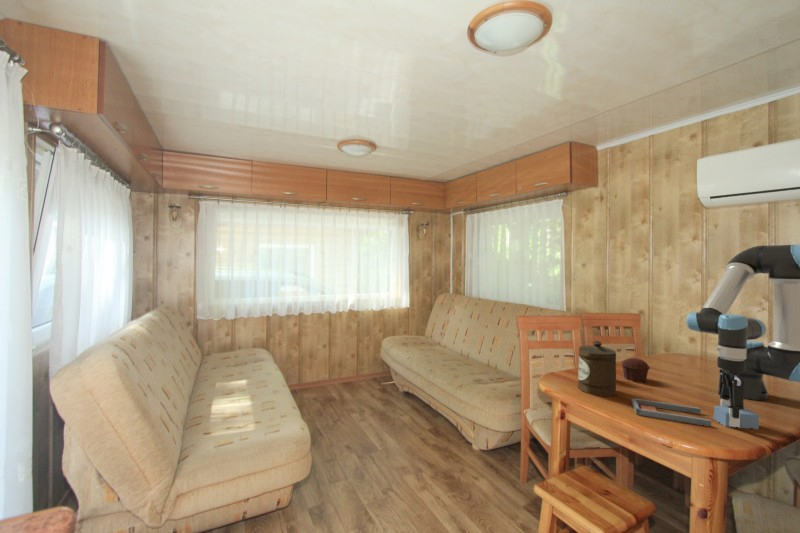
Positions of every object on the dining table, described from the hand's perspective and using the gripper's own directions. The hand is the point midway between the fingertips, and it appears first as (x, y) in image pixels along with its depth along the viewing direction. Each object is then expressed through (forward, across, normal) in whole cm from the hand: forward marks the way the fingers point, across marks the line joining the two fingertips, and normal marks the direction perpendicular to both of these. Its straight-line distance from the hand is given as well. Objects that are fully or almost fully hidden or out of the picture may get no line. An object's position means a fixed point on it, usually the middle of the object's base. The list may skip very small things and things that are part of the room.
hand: (729, 421), depth 128 cm
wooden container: (+1, -16, -41) cm, 44 cm away
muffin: (+1, -41, -23) cm, 47 cm away
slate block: (+1, 0, +2) cm, 2 cm away
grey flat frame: (+1, 0, -18) cm, 18 cm away
